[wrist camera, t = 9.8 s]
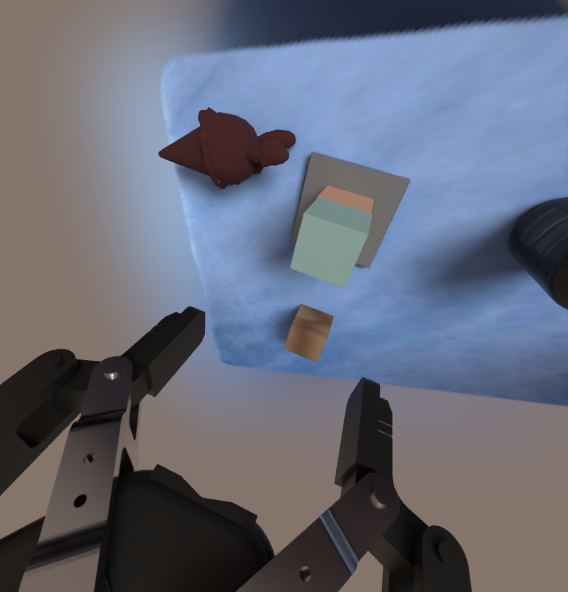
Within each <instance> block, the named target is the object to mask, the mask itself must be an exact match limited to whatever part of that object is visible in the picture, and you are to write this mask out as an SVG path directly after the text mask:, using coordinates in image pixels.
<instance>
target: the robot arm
mask: <svg viewBox="0 0 568 592" xmlns="http://www.w3.org/2000/svg"><path fill="white" fill-rule="evenodd" d="M204 335H205V312H204V311H201V310H199V309H196V308H194V307H191V306H189V307H188V308H186V309H185V310H184V311H183V312H182V313H181V314H180V313H177V312H175V313H173V314H171V315H169V316H166V317H165V318H164V319H162V320H161V321H160V322H159V323H158V324H157V326H155V327H153V328H152V329H151V331H150V332H148V333H147V334H145V335H144V336H143V337H142V338H141V339H140V340H139V341H138V342H136V343H135V344H134V345H133V346H132V347H131V348H130V349H128V350H127V351H126V352H125V353H124V354H122V355H121V356H114V357H109V358H106V359H104V360H102V361H90V360H80V359H76V357H75V355H74V354H73V352H71V351H69V350H66V349H56V350H52V351H49V352H46V353H44V354H42V355H40V356H39V357H37V358H36V359H34V360H33V361H32V362H30V363H29V364H28V365H26V366H25V367H24V368H22V369H21V370H19V371H18V372H17V373H15V374H14V375H13V376H11V377H10V378H9V379H7V380H6V381H5V382H3V383H2V384H1V385H0V495H1V494H2V493H3V492H4V491H5V490H6V489H7V488H8V487H9V486H10V485H11V484H12V483H13V482H14V481H15V480H16V479H17V478H18V477H19V476H20V475H21V474H22V473H23V472H24V471H25V470H26V469H27V468H28V467H29V465H30V464H31V463H32V462H33V461H34V460H35V459H36V458H37V457H38V456H39V455H40V454H41V453H42V452H43V451H44V450H45V449H46V448H47V447H48V446H49V445H50V444H51V443H52V442H53V441H54V440H55V439H56V437H58V435H59V434H60V433H61V432H62V431H63V430H64V429H65V428H66V427H67V426H68V425H69V424H70V423H71V422H72V421H73V420H74V419H75V418H76V417H77V416H78V415H79V414H80V413H81V416H80V419H79V420H78V421H76V422H74V423H73V424H72V426H71V428H70V430H69V433H68V437H67V440H66V444H65V448H64V451H63V455H62V458H61V462H60V466H59V469H58V473H57V476H56V480H55V484H54V487H53V491H52V494H51V498H50V502H49V505H48V509H47V513H46V515H45V516H43V517H42V518H40V519H38V520H36V521H34V522H32V523H30V524H28V525H26V526H24V527H22V528H21V529H19V530H17V531H15V532H13V533H11V534H9V535H7V536H6V537H4V538H2V539H0V592H338V591H339V590H340V589H341V588H342V587H343V585H344V584H345V583H346V582H347V581H348V580H349V578H350V577H351V576H352V575H353V573H354V572H355V570H356V567H357V563H358V562H359V561H360V559H361V558H362V557H363V556H364V555H365V554H366V553H367V552H368V551H369V552H370V553H371V554H372V555H373V556H374V557H375V558H376V559H377V560H378V561H379V562H380V563H381V564H382V565H383V579H382V592H472V590H471V582H470V574H469V567H468V562H467V559H466V556H465V553H464V551H463V549H462V547H461V546H460V544H459V543H458V541H457V540H456V539H455V537H454V536H453V535H452V534H451V533H450V532H448V531H447V530H446V529H444V528H442V527H440V526H436V525H433V526H428V525H426V524H425V523H424V522H423V521H422V520H421V519H420V518H419V517H417V516H416V515H415V514H414V513H413V512H412V511H411V510H409V509H408V507H406V505H405V504H404V503H403V502H402V500H401V499H400V497H399V496H398V493H397V491H396V489H395V487H394V484H393V476H392V411H391V408H390V406H389V403H388V401H387V400H385V399H383V398H380V384H378V383H376V382H373V381H371V380H369V379H366V378H364V377H363V378H361V380H360V381H359V383H358V384H357V386H356V387H355V389H354V390H353V392H352V394H351V395H350V397H349V400H348V403H347V406H346V412H345V418H344V425H343V431H342V438H341V444H340V451H339V457H338V464H337V469H336V476H335V482H334V483H335V484H337V485H339V486H341V487H342V490H341V497H340V499H339V500H337V501H336V502H335V503H334V504H333V505H332V506H331V507H329V508H328V509H327V510H326V511H325V512H324V513H323V514H322V515H321V516H320V517H318V518H317V519H316V520H315V521H314V522H313V523H312V524H311V525H309V526H308V527H307V528H306V529H305V530H304V531H303V532H302V533H300V534H299V535H298V536H297V537H296V538H295V539H294V540H293V541H291V543H289V544H288V545H287V546H286V547H285V548H284V549H283V550H281V551H280V552H279V553H278V554H277V555H276V556H275V555H274V551H273V548H272V546H271V544H270V542H269V540H268V538H267V536H266V534H265V533H264V531H263V530H262V529H261V527H260V526H259V525H258V524H257V523H256V519H257V515H256V514H254V513H252V512H250V511H248V510H245V509H244V508H242V507H240V506H238V505H236V504H234V503H232V502H226V501H220V500H214V499H206V498H202V497H201V496H199V494H198V493H196V491H195V490H194V489H193V488H192V487H191V486H190V485H189V484H188V483H187V482H186V481H185V480H184V479H183V478H182V476H180V475H178V474H176V473H174V472H172V471H170V470H168V469H167V468H165V467H163V466H160V465H159V464H157V465H156V467H155V468H154V470H140V471H138V463H139V462H138V461H139V454H138V437H139V425H140V415H141V404H142V403H141V402H142V399H143V398H144V397H145V396H146V394H149V395H152V396H154V397H156V395H157V394H158V393H159V392H160V391H161V390H162V388H163V387H164V386H165V385H166V384H167V382H168V381H169V380H170V379H171V378H172V376H173V375H174V374H175V373H176V372H177V371H178V369H179V368H180V367H181V366H182V365H183V364H184V362H185V361H186V360H187V359H188V357H189V356H190V355H191V354H192V353H193V352H194V350H195V349H196V348H197V347H198V346H199V345H200V343H201V342H202V340H203V338H204Z"/></svg>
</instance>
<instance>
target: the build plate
mask: <svg viewBox="0 0 568 592" xmlns="http://www.w3.org/2000/svg"><path fill="white" fill-rule="evenodd" d="M409 183H410V179H408V178H404V177H401V176H397V175H393V174H390V173H386V172H383V171H379V170H376V169H372V168H369V167H365V166H362V165H358V164H355V163H351V162H348V161H344V160H341V159H337V158H334V157H330V156H327V155H323V154H320V153H316V152H312V153H311V157H310V161H309V166H308V170H307V174H306V178H305V183H304V187H303V191H302V196H301V200H300V204H299V208H298V213H297V217H296V221H295V226H294V230H293V234H292V238H291V242H293V243H296V242H297V238H298V234H299V230H300V226H301V223H302V219H303V215H304V212H305V211H306V210H307V209H308V208H309V207H310V206H311V205H312V204H313V203H314V201H315V200H316V199H317V197H318V195H319V194H320V193H321V192H322V191H323V190H324V189H325V188H326V187H327V186H331V187H334V188H338V189H341V190H344V191H348V192H351V193H354V194H358V195H361V196H364V197H368V198H371V199H374V202H373V207H372V211H371V214H372V218H371V223H370V228H369V233H368V236H367V238H366V241H365V243H364V245H363V248H362V250H361V252H360V255H359V257H358V259H357V261H356V264H358V265H361V266H364V267H367V268H369V267H370V265H371V263H372V261H373V259H374V257H375V255H376V253H377V250H378V248H379V246H380V244H381V242H382V240H383V238H384V236H385V233H386V231H387V229H388V227H389V225H390V223H391V221H392V219H393V216H394V214H395V212H396V210H397V208H398V206H399V204H400V202H401V199H402V197H403V195H404V193H405V191H406V189H407V187H408V185H409Z"/></svg>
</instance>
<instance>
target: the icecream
mask: <svg viewBox="0 0 568 592" xmlns="http://www.w3.org/2000/svg"><path fill="white" fill-rule="evenodd" d="M198 120H199V122H200V125H201V126H200V127H198V128H197V129H195V130H193V131H192V132H190V133H188V134H187V135H185V136H184V137H182V138H180V139H179V140H177V141H175V142H174V143H172V144H170V145H169V146H167V147H165V148H164V149H162V150H161V151H160V152H159V156H160V157H162V158H164V159H166V160H169V161H172V162H174V163H177V164H179V165H182V166H185V167H187V168H190V169H193V170H195V171H198V172H200V173H203V174H206V175H208V176H211V179H212V181H213V182H214V183H215V185H217V186H219V187H220V188H221V189H224V188H226V187H227V186H228V185H233V184H237V185H239V184H240V183H241V182H242V181H244V180H246V179H248V178H249V177H251V176H252V175H253V173H254V174H259V173H261V171H262V169H263V167H267V166H270V165H279V164H283V163H284V162H285V161H287V160H288V158H289V153H288V151H287V150H286V148H288V147H291V146H293V145H294V144H295V143H296V139H295V135H294V134H293V133H291V132H290V131H286V130H274V131H270V132H266V133H264V134H262V135H260V136H258V137H257V134H256V132H255V130H254V128H253V127H252V126H251V125H250V124H249V123H248V122H247V121H246V120H244V119H242V118H240V117H238V116H236V115H232V114H227V113H222V112H218V113H216V112H215V111H213V110H212V109H211V108H209V107H208V109H207V110H201V111H199V115H198Z"/></svg>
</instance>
